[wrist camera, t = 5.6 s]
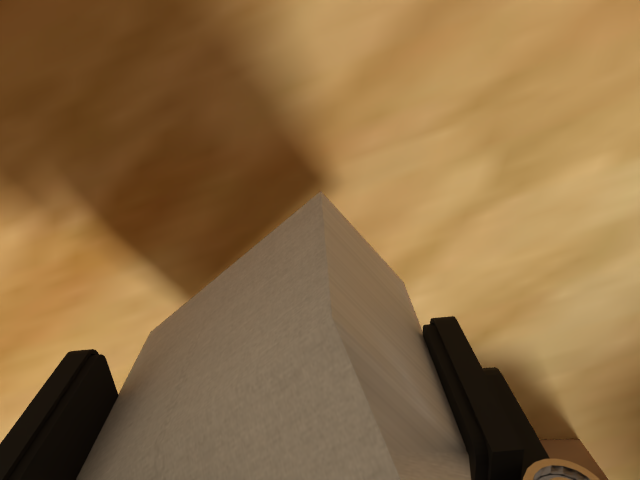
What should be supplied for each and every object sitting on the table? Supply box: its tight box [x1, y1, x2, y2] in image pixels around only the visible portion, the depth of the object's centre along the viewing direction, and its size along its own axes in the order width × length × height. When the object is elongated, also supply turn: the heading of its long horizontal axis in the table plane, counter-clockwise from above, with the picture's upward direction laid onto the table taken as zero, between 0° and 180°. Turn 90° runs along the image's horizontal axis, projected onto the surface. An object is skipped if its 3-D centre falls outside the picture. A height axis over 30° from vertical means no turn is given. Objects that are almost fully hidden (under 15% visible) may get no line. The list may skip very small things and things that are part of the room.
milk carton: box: [76, 191, 471, 480], centre depth 9 cm, size 4×7×10 cm, turn 131°
